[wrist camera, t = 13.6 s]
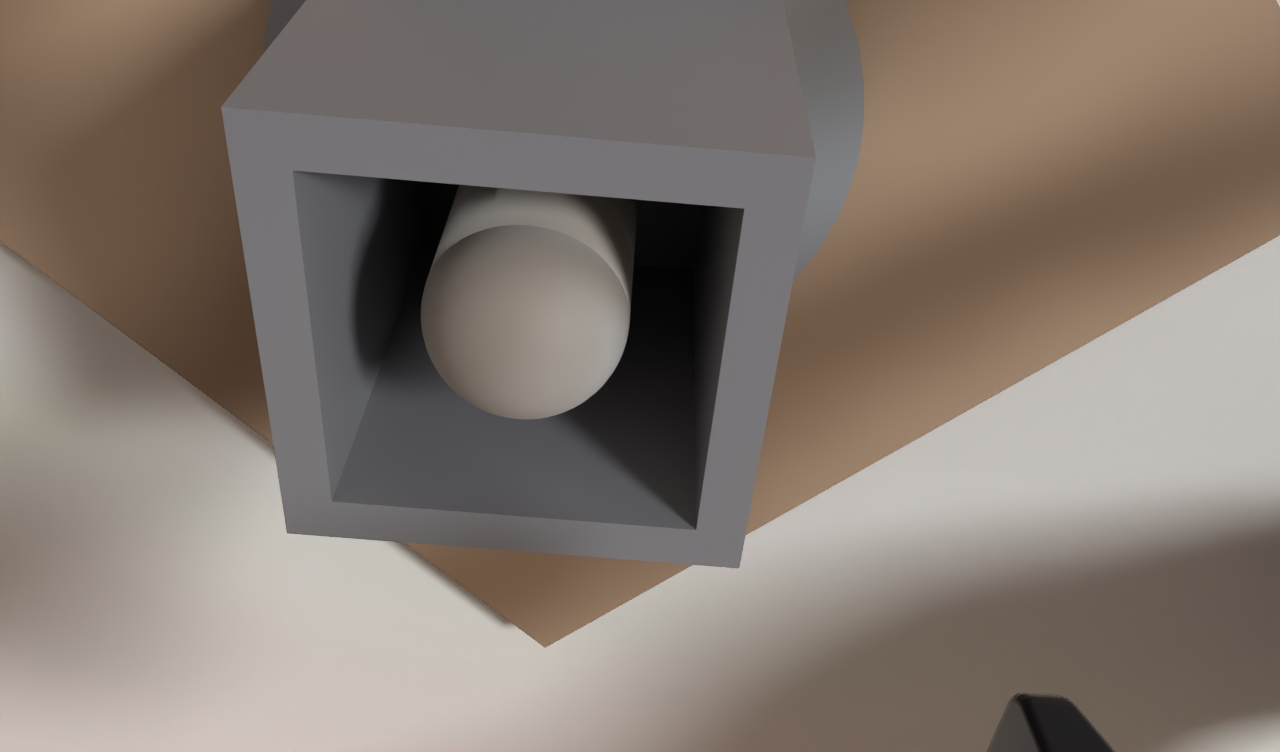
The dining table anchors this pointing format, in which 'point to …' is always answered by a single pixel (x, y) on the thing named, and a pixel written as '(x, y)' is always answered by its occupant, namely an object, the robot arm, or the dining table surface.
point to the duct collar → (537, 161)
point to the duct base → (696, 222)
